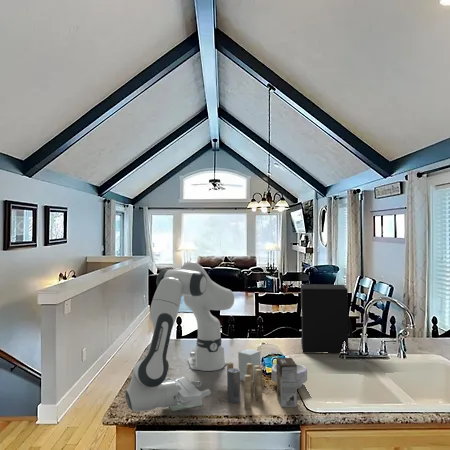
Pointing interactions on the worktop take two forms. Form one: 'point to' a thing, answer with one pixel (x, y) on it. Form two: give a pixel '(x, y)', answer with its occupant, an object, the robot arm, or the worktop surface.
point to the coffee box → (286, 382)
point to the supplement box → (248, 361)
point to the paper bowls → (300, 374)
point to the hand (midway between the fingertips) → (205, 387)
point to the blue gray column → (234, 385)
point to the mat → (180, 406)
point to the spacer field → (250, 383)
